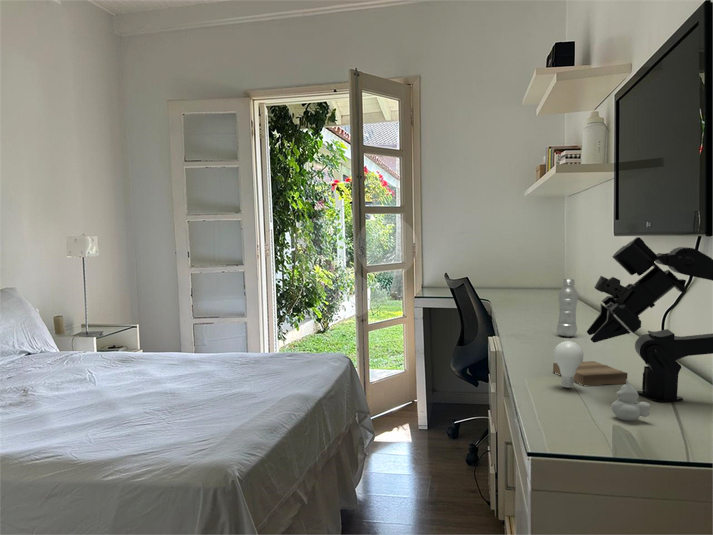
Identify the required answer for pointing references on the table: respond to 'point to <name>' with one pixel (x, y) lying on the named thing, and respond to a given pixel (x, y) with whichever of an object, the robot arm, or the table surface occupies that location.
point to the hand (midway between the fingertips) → (589, 337)
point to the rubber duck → (629, 404)
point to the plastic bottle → (567, 309)
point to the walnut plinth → (596, 374)
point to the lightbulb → (568, 361)
